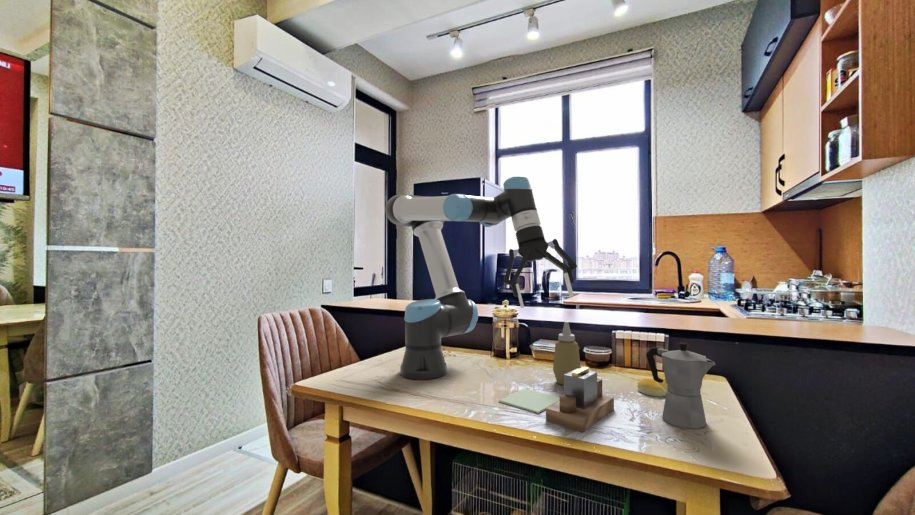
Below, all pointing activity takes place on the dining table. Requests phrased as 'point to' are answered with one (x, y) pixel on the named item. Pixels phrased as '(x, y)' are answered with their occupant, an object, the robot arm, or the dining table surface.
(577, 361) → the squeeze bottle
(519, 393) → the mat
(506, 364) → the dining table surface
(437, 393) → the dining table surface
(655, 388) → the bread roll
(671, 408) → the coffeepot
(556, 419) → the wooden peg board
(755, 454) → the dining table surface
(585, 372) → the lever cap
